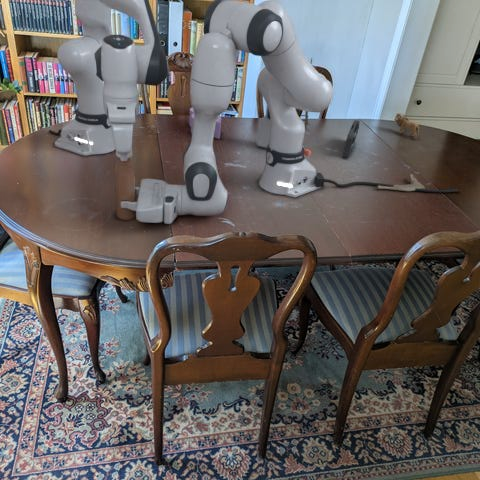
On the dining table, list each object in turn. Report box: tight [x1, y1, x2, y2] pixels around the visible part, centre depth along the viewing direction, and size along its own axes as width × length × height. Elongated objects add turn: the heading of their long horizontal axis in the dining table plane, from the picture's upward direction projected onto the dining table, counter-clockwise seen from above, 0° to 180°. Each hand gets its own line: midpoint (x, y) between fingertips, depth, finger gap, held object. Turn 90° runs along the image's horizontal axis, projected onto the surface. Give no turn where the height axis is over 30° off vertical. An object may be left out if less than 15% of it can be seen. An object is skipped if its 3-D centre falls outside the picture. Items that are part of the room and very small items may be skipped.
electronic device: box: [255, 105, 271, 150], centre depth 183 cm, size 12×8×30 cm, turn 71°
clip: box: [188, 106, 222, 140], centre depth 199 cm, size 20×12×7 cm, turn 23°
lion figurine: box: [394, 112, 422, 140], centre depth 218 cm, size 15×5×9 cm, turn 50°
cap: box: [115, 147, 133, 158], centre depth 126 cm, size 4×4×2 cm
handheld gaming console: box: [342, 119, 361, 159], centre depth 194 cm, size 23×3×10 cm, turn 161°
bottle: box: [114, 157, 136, 221], centre depth 131 cm, size 6×6×20 cm
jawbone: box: [376, 173, 426, 193], centre depth 169 cm, size 9×20×2 cm, turn 126°
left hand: (123, 155), depth 126 cm, fingers closed on cap, 4 cm apart
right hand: (122, 198), depth 133 cm, fingers closed on bottle, 5 cm apart
